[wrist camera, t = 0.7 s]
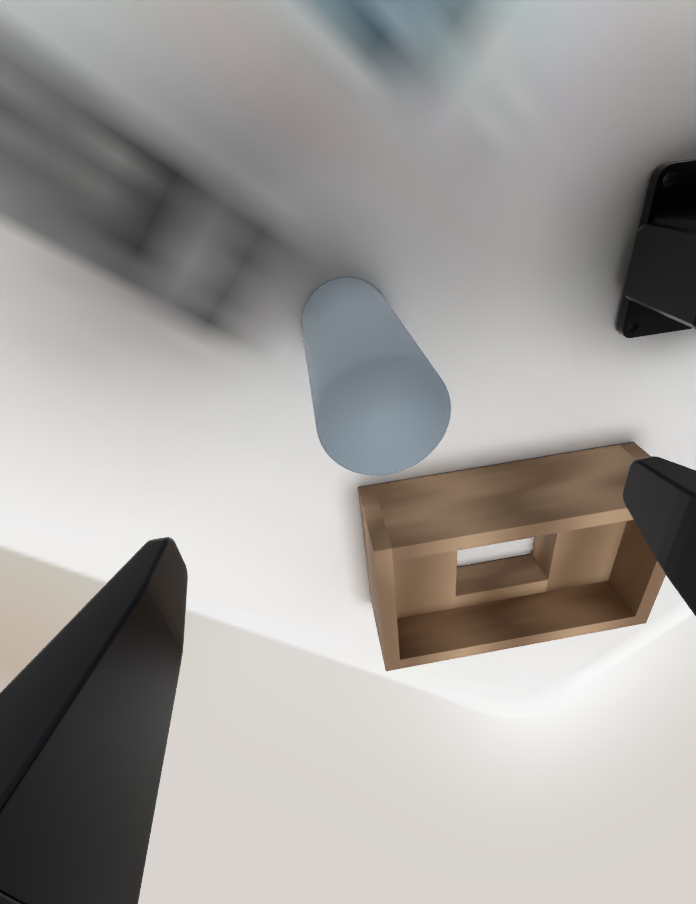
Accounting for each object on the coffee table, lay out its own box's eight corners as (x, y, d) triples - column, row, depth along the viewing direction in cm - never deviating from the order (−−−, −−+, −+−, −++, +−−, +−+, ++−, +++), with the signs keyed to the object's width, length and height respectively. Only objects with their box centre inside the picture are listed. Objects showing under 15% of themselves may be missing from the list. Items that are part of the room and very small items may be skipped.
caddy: (633, 442, 24) (698, 495, 21) (599, 562, 29) (646, 622, 26) (358, 487, 24) (373, 551, 20) (371, 602, 29) (385, 671, 25)
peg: (386, 271, 18) (452, 345, 11) (391, 358, 20) (449, 464, 13) (294, 284, 18) (306, 367, 11) (308, 370, 20) (325, 484, 13)
